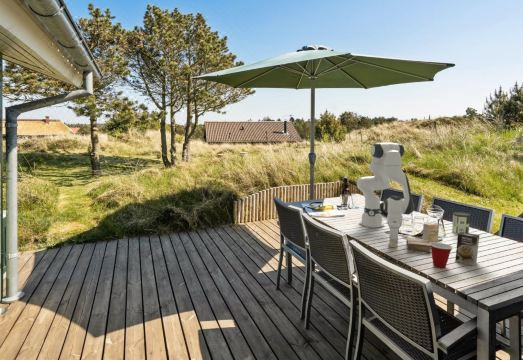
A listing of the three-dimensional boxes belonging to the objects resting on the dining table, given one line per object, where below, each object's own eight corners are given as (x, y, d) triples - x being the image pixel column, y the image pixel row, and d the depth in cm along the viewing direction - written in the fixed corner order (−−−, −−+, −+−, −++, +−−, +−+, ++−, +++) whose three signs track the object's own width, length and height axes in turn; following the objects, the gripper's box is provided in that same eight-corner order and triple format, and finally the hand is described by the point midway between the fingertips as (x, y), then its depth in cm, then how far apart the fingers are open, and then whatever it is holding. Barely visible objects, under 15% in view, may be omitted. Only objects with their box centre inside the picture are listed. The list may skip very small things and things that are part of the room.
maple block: (389, 243, 196) (389, 234, 195) (397, 244, 194) (397, 235, 193) (388, 246, 191) (389, 237, 190) (397, 247, 189) (398, 238, 188)
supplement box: (427, 244, 193) (429, 225, 191) (421, 242, 198) (423, 223, 196) (438, 243, 195) (439, 224, 193) (432, 241, 200) (433, 222, 198)
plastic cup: (453, 265, 162) (454, 244, 160) (449, 272, 154) (450, 249, 152) (430, 260, 169) (432, 239, 167) (425, 266, 161) (427, 244, 159)
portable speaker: (377, 212, 278) (377, 201, 277) (387, 212, 278) (388, 201, 277) (390, 219, 253) (390, 208, 251) (401, 219, 253) (402, 207, 252)
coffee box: (454, 261, 167) (457, 233, 165) (457, 258, 171) (460, 231, 169) (474, 266, 160) (477, 237, 158) (477, 262, 165) (479, 234, 163)
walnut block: (406, 244, 195) (406, 237, 194) (427, 246, 190) (427, 239, 190) (407, 251, 184) (408, 243, 183) (430, 253, 179) (430, 245, 178)
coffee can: (462, 230, 222) (463, 211, 220) (472, 234, 211) (473, 215, 209) (448, 230, 221) (449, 212, 220) (457, 235, 211) (459, 215, 209)
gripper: (389, 216, 201) (388, 236, 203) (388, 225, 182) (387, 246, 184) (399, 217, 198) (398, 237, 200) (400, 226, 180) (398, 248, 182)
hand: (393, 242), depth 192 cm, fingers open, 8 cm apart
